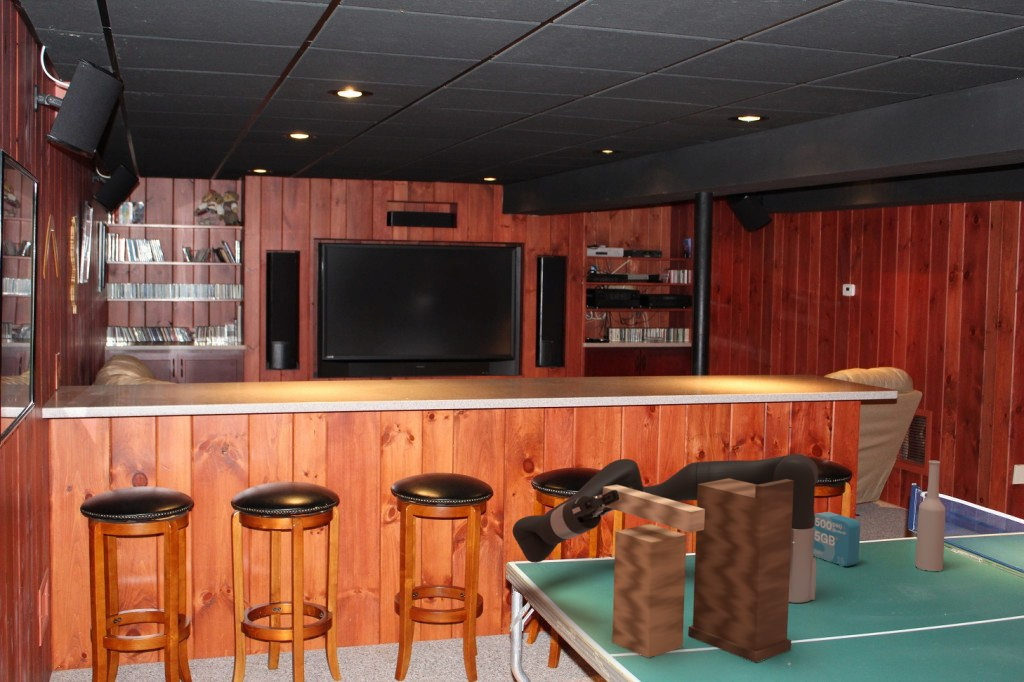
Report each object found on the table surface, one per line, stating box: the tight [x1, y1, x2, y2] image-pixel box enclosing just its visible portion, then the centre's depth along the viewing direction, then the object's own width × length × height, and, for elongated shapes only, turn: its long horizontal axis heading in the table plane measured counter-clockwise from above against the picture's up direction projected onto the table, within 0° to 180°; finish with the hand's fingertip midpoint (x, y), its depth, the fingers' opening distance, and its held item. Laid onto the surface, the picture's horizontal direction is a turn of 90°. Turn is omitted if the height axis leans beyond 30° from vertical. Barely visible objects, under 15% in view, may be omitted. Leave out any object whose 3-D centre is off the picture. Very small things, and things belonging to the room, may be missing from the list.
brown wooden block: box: [603, 485, 705, 534], centre depth 197 cm, size 24×4×4 cm, turn 39°
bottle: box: [914, 459, 946, 571], centre depth 253 cm, size 7×7×28 cm
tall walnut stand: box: [687, 478, 794, 663], centre depth 199 cm, size 17×11×34 cm, turn 39°
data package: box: [813, 511, 861, 567], centre depth 259 cm, size 12×4×12 cm, turn 31°
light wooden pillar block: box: [611, 523, 687, 658], centre depth 198 cm, size 10×10×23 cm
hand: (624, 493), depth 202 cm, fingers closed on brown wooden block, 4 cm apart
